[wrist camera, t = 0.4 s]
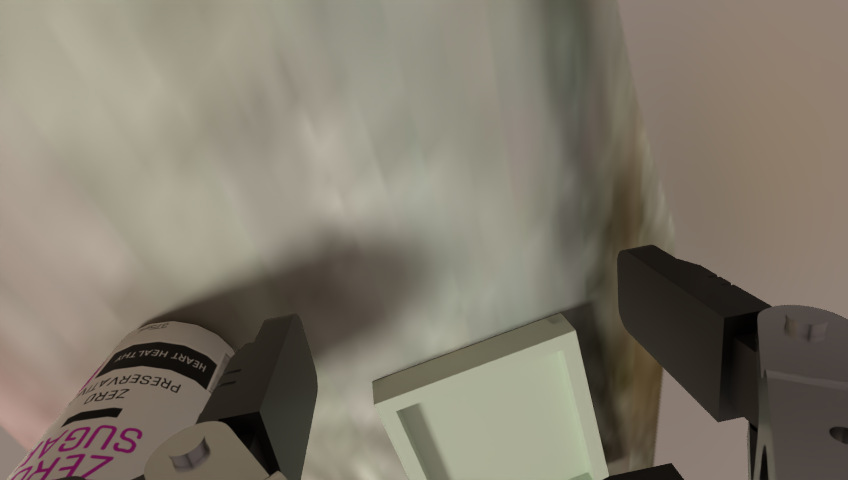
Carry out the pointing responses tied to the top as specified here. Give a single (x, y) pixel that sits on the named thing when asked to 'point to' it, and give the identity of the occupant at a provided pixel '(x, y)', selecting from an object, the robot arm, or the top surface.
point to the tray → (497, 410)
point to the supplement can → (131, 405)
